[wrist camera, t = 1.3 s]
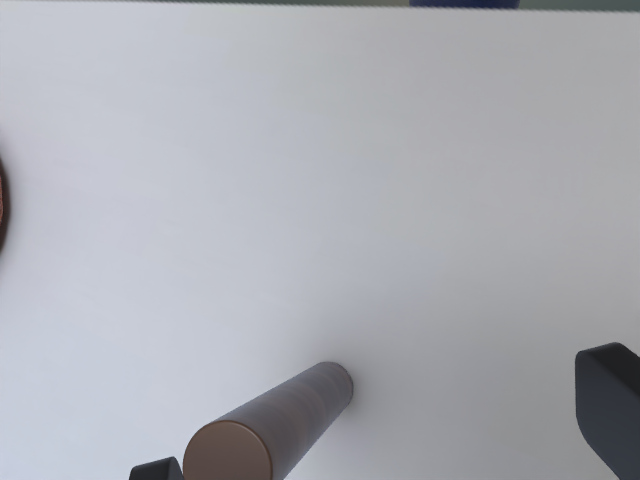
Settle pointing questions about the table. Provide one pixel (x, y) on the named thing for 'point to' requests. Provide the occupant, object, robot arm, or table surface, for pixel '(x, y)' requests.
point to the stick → (270, 428)
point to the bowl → (1, 201)
